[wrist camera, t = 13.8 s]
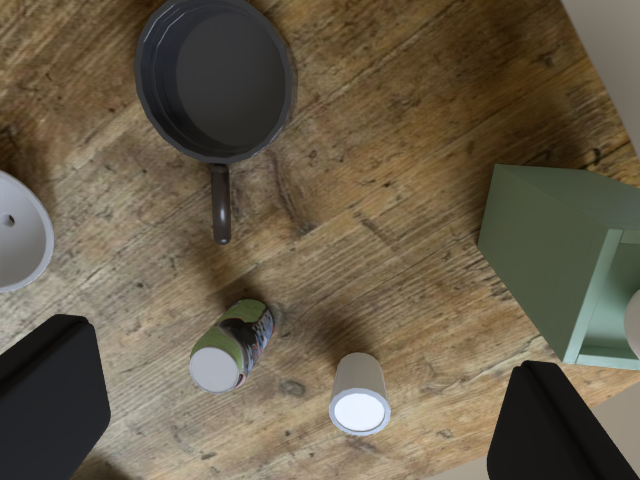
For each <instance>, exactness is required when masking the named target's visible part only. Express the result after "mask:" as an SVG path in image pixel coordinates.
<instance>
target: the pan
mask: <svg viewBox="0 0 640 480" xmlns="http://www.w3.org/2000/svg"><path fill="white" fill-rule="evenodd" d="M134 73H135V81H136V90H137V94H138V96H139V99H140V101H141V104H142V106H143V109H144V111H145V114H146V116H147V118H148V119H149V121H150V122H151V123H152V125H153V126H154V127H155V129H156V130H157V131H158V133H159V134H160V135H161V137H162V138H163V139H164V140H166V141H167V142H168V143H170V144H171V145H172V146H173V147H175V148H176V149H177V150H179V151H180V152H181V153H183V154H185V155H187V156H190V157H192V158H195V159H197V160H200V161H203V162H208V163H222V164H229V163H233V162H237V161H241V160H244V159H248V158H251V157H252V156H254V155H255V154H257V153H258V152H260V151H261V150H263V149H264V148H266V147H267V146H268V145H270V144H271V143H273V142H274V141H276V140H277V138H278V137H279V136H280V134H281V133H282V132H283V130H284V129H285V128H286V126H287V125H288V124H289V122H290V119H291V116H292V114H293V111H294V108H295V105H296V102H297V87H298V73H297V70H296V66H295V62H294V58H293V54H292V51H291V48H290V47H289V45H288V43H287V42H286V40H285V38H284V37H283V35H282V33H281V32H280V30H279V28H278V27H277V26H276V25H275V24H274V23H273V22H272V21H270V20H269V19H268V18H267V17H266V16H265V15H264V14H263V13H261V12H260V11H259V10H258V9H257V8H255V7H254V6H253V5H251V4H250V3H249V2H247V1H246V0H167V1H166V2H165V3H164V4H163V5H162V6H161V7H159V8H158V9H157V10H156V11H155V12H154V13H153V14H151V16H150V17H149V19H148V21H147V23H146V25H145V27H144V29H143V30H142V32H141V34H140V36H139V39H138V43H137V49H136V54H135V60H134Z"/></svg>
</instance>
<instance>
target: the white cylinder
mask: <svg viewBox="0 0 640 480" xmlns="http://www.w3.org/2000/svg"><path fill="white" fill-rule="evenodd" d="M390 412H391V409H390V405H389V400H388V395H387V391H386V386H385V382H384V377H383V373H382V368H381V366H380V364H379V361H377V360H376V359H375V358H374V357H373V356H371V355H369V354H366V353H359V352H355V353H351V354H348V355H346V356H345V357H344V358H342V359H341V360H340V362H339V364H338V366H337V371H336V376H335V380H334V385H333V390H332V394H331V399H330V404H329V416H330V418H331V420H332V422H333V424H334V425H336V426H337V427H338V428H339V429H340V430H342V431H344V432H347V433H349V434H352V435H362V436H365V435H369V434H374V433H376V432H378V431H380V430H381V429H383V428H384V427H385V426H386V424H387V423H388V421H389V420H390Z"/></svg>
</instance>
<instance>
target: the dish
mask: <svg viewBox="0 0 640 480" xmlns="http://www.w3.org/2000/svg"><path fill="white" fill-rule="evenodd" d="M9 215H11V216H12V217H13V218H14V221H15V222H13V221H12V220H11V219H10V217H9ZM53 249H54V231H53V226H52V223H51V219H50V217H49V215H48V213H47V211H46V209H45V207H44V206H43V204H42V203H41V201H40V200H39V199H38V197H37V196H36V195H35V194H34V193H33V192H32V191H31V190H30V189H29V188H28V187H27V186H26V185H25V184H24V183H22V182H21V181H19V180H18V179H17V178H15V177H13V176H12V175H10V174H8V173H6V172H4V171H2V170H0V292H7V291H12V290H15V289H18V288H21V287H23V286H25V285H27V284H29V283H31V282H32V281H34V280H35V279H36V278H37V277H39V276H40V274H41V273H42V272H43V271H44V270H45V269H46V267H47V265H48V264H49V262H50V259H51V257H52V254H53Z"/></svg>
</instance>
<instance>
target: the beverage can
mask: <svg viewBox="0 0 640 480" xmlns="http://www.w3.org/2000/svg"><path fill="white" fill-rule="evenodd" d="M274 328H275V321H274V317H273V315H272V313H271V311H270V310H269V309H268V307H267V306H265V305H264V304H263V303H261V302H259V301H257V300H253V299H243V300H240V301H237V302H236V303H234V304H233V305H232V306H231V307H230V308H229V309H228V310H227V311H226V312H225V313H224V314H223V315H222V316H221V317H220V319H219V320H218V321H217V322H216V323H215V324H214V325H213V326H212V327H211V328H210V329H209V330H208V331H207V332H206V333H205V334H204V335H203V336H202V337H201V338H200V339H199V340H198V341H197V343H196V344H195V345H194V347H193V349H192V352H191V356H190V364H189V370H190V374H191V377H192V379H193V380H194V382H195V383H196V384H197V385H198V386H199V387H200V388H201V389H203V390H204V391H207V392H209V393H213V394H222V393H226V392H228V391H230V390H233V389H235V388H237V387H239V386H240V385H241V384H242V383H243V382H244V381H245V380H246V378H247V376H248V375H249V373H250V371H251V370H252V368H253V366H254V365H255V363H256V361H257V360H258V358H259V356H260V354H261V353H262V351H263V349H264V348H265V346H266V344H267V343H268V341H269V339H270V338H271V336H272V334H273V332H274Z"/></svg>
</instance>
